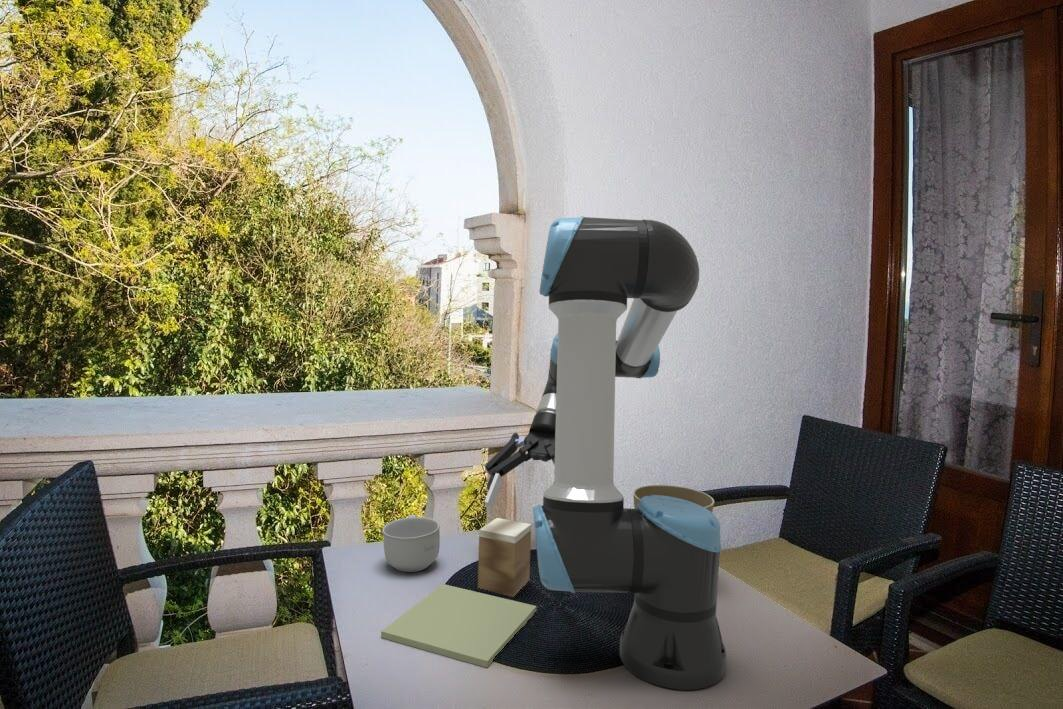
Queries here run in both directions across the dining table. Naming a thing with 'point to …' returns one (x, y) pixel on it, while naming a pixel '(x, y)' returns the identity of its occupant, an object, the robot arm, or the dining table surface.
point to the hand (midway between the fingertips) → (520, 511)
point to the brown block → (504, 556)
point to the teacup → (411, 543)
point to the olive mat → (460, 624)
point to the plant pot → (674, 494)
